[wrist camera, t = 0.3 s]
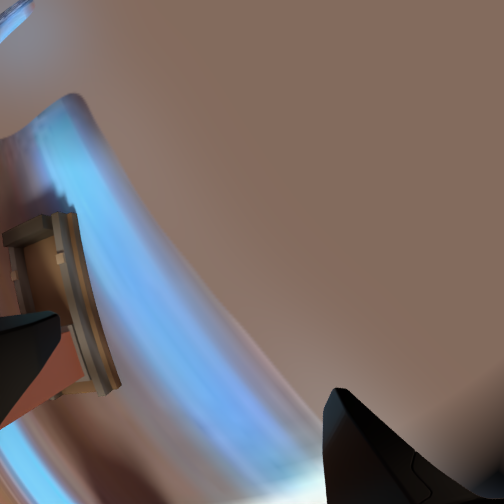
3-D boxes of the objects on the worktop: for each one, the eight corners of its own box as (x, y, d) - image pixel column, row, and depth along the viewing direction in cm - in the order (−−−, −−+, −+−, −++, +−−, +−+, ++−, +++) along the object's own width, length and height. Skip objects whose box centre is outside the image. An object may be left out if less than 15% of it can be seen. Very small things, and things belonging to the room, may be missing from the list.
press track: (121, 385, 24) (103, 402, 20) (58, 391, 24) (37, 405, 20) (76, 213, 25) (52, 206, 21) (19, 238, 25) (-7, 235, 21)
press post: (96, 376, 23) (-19, 455, 8) (58, 380, 23) (-53, 444, 8) (78, 322, 23) (-57, 364, 8) (41, 330, 23) (-83, 367, 8)
